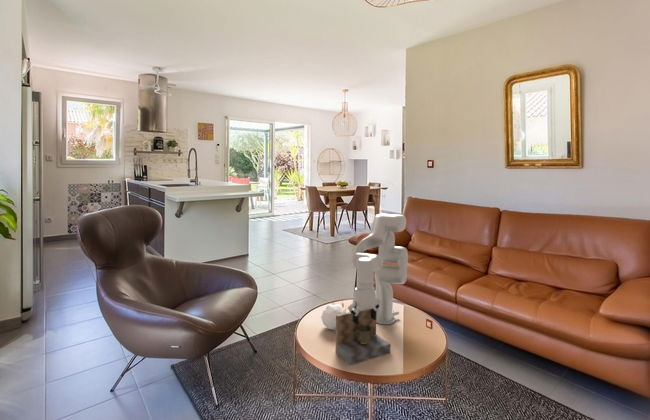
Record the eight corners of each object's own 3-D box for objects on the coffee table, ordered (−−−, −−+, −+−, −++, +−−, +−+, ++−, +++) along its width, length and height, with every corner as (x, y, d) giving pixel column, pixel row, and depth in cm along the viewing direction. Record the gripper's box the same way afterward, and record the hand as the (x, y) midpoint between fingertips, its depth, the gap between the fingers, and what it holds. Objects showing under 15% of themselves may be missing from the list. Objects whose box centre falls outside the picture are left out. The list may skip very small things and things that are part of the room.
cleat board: (374, 341, 178) (375, 306, 176) (390, 353, 167) (391, 315, 165) (335, 352, 167) (335, 315, 165) (350, 365, 156) (350, 325, 154)
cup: (354, 340, 170) (354, 324, 169) (369, 339, 170) (370, 323, 169) (356, 348, 162) (357, 331, 161) (373, 347, 163) (373, 330, 162)
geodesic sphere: (327, 327, 180) (339, 302, 184) (310, 318, 190) (322, 295, 194) (343, 337, 188) (355, 313, 192) (326, 328, 199) (338, 305, 203)
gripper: (375, 279, 170) (374, 314, 173) (344, 285, 162) (344, 321, 164) (385, 284, 164) (384, 320, 166) (353, 291, 156) (353, 328, 158)
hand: (364, 321), depth 165 cm, fingers open, 9 cm apart
